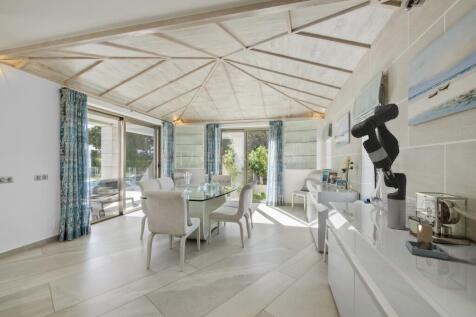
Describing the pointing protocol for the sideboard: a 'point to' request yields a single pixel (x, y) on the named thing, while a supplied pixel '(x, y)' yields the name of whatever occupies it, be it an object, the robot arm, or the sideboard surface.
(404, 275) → the sideboard surface
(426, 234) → the bronze can
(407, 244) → the tray
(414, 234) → the food container
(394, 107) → the robot arm
